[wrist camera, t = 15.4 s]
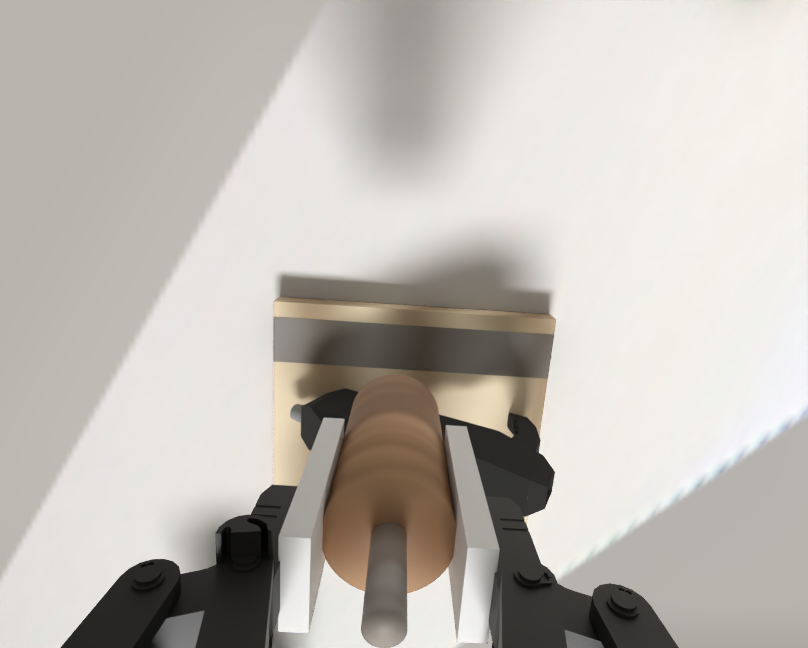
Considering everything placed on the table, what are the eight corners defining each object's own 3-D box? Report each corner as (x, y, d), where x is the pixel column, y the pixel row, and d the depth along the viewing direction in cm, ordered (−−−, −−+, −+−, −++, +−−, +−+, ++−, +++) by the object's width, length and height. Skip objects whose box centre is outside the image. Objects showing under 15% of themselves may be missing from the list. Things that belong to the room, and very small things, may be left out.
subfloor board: (278, 520, 37) (273, 534, 35) (279, 296, 33) (273, 301, 31) (518, 534, 37) (523, 548, 35) (549, 314, 33) (556, 319, 31)
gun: (358, 362, 38) (267, 403, 29) (576, 415, 31) (541, 491, 22) (356, 396, 38) (267, 447, 30) (569, 456, 31) (532, 545, 23)
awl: (353, 371, 21) (298, 549, 10) (442, 377, 21) (480, 560, 10) (349, 452, 22) (295, 693, 11) (434, 457, 22) (462, 703, 11)
